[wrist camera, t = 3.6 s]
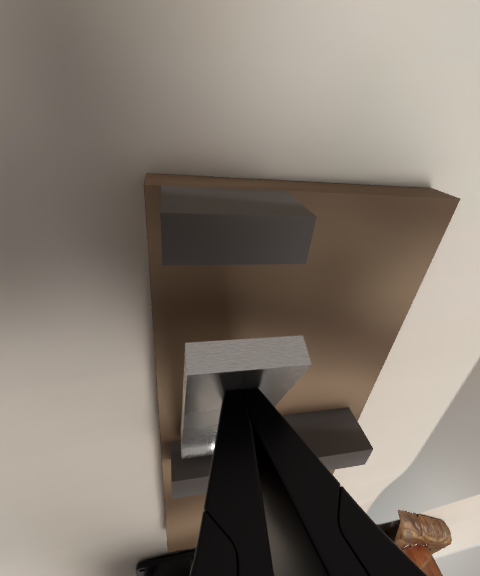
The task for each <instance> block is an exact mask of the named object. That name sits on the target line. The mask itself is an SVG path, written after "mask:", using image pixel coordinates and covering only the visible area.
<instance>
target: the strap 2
mask: <svg viewBox="0 0 480 576" xmlns="http://www.w3.org/2000/svg"><path fill="white" fill-rule="evenodd" d="M311 365H312V364H311V361H310V357H309V354H308V351H307V347H306V344H305V340H304V337H303V335H300V336H285V337H269V338H253V339H237V340H222V341H206V342H190V343H185V359H184V379H183V398H182V418H181V427H180V433H181V458H182V459H186V458H193V457H200V456H207V455H213V451H214V445H215V439H216V434H217V428H218V422H219V416H220V410H221V405H222V399H223V393H224V391H230V390H243V389H251V388H259V389H260V390H261V391H262V393H263V394H264V395H265V396H266V397H267V398H268V400H269V401H270V402H271V403H272V404H273V406H274V407H275V406H276V405H277V404H278V402H279V401H280V400H281V399H282V398H283V397H284V396H285V395H286V393H287V392H288V391H289V390H290V389H291V388H292V387H293V385H294V384H295V383H296V382H297V381H298V380H299V379H300V377H301V376H302V375H303V374H304V373H305V372H306V371H307V369H308V368H309V367H310V366H311Z"/></svg>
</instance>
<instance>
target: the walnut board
mask: <svg viewBox="0 0 480 576" xmlns="http://www.w3.org/2000/svg"><path fill="white" fill-rule="evenodd" d="M144 193H145V208H146V223H147V239H148V254H149V270H150V285H151V300H152V316H153V331H154V346H155V362H156V377H157V392H158V408H159V423H160V438H161V454H162V469H163V484H164V500H165V515H166V530H167V546H168V553H169V552H173V551H178V550H183V549H188V548H193V547H196V545H197V541H198V536H199V531H200V525H201V519H202V513H203V509H204V503H205V497H206V491H207V485H208V480H209V474H210V468H211V462H212V457H213V455H207V456H200V457H193V458H186V459H182V458H181V433H180V427H181V418H182V398H183V379H184V359H185V343H190V342H206V341H222V340H237V339H253V338H269V337H285V336H300V335H303V337H304V340H305V344H306V347H307V351H308V354H309V357H310V361H311V364H312V365H311V366H310V367H309V368H308V369H307V371H306V372H305V373H304V374H303V375H302V376H301V377H300V379H299V380H298V381H297V382H296V383H295V384H294V385H293V387H292V388H291V389H290V390H289V391H288V392H287V393H286V395H285V396H284V397H283V398H282V399H281V400H280V401H279V402H278V404H277V405H276V406H275V408H276V409H277V410H278V411H279V413H280V414H281V415H282V416H283V417H284V418H285V420H286V421H287V422H288V423H289V424H290V425H291V427H292V428H293V429H294V430H295V431H296V433H297V434H298V435H299V436H300V437H301V438H302V440H303V441H304V442H305V443H306V444H307V445H308V447H309V448H310V449H311V450H312V451H313V452H314V454H315V455H316V456H317V457H318V458H319V460H320V461H321V462H322V463H323V464H324V465H325V467H326V468H327V469H328V470H329V471H330V472H331V474H332V475H333V473H334V471H335V469H340V468H346V467H352V466H358V465H364V464H365V463H366V461H367V460H368V458H369V456H370V454H371V452H372V450H373V448H372V446H371V444H370V442H369V441H368V439H367V437H366V436H365V434H364V432H363V430H362V429H361V427H360V425H359V423H358V422H357V421H358V419H359V417H360V414H361V412H362V410H363V408H364V406H365V404H366V401H367V399H368V397H369V395H370V393H371V391H372V389H373V386H374V384H375V382H376V380H377V378H378V376H379V373H380V371H381V369H382V367H383V365H384V363H385V360H386V358H387V356H388V354H389V352H390V350H391V348H392V345H393V343H394V341H395V339H396V337H397V335H398V332H399V330H400V328H401V326H402V324H403V322H404V319H405V317H406V315H407V313H408V311H409V309H410V306H411V304H412V302H413V300H414V298H415V296H416V294H417V291H418V289H419V287H420V285H421V283H422V281H423V278H424V276H425V274H426V272H427V270H428V268H429V265H430V263H431V261H432V259H433V257H434V255H435V253H436V250H437V248H438V246H439V244H440V242H441V240H442V237H443V235H444V233H445V231H446V229H447V227H448V224H449V222H450V220H451V218H452V216H453V214H454V211H455V209H456V207H457V205H458V203H459V201H460V199H459V198H457V197H454V196H451V195H449V194H446V193H443V192H441V191H438V190H435V189H433V188H415V187H396V186H377V185H358V184H339V183H320V182H300V181H281V180H262V179H243V178H224V177H205V176H186V175H166V174H147V173H146V178H145V182H144Z"/></svg>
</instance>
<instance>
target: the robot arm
mask: <svg viewBox="0 0 480 576" xmlns="http://www.w3.org/2000/svg"><path fill="white" fill-rule="evenodd" d="M136 574H137V576H427V575H426V574H425V573H424V572H423V571H422V570H421V569H420V568H419V567H418V566H417V565H416V564H415V563H414V562H413V561H412V560H411V559H410V558H409V557H408V556H407V555H406V554H405V553H404V552H403V551H402V550H401V549H400V548H399V547H398V546H397V545H396V544H395V543H394V542H393V541H392V540H391V539H390V538H389V537H388V536H387V535H386V534H385V533H384V532H383V531H382V530H381V529H380V528H379V527H378V526H377V525H376V524H375V523H374V522H373V521H372V520H371V519H370V518H369V516H368V515H367V514H366V513H365V512H364V511H363V509H362V508H361V507H360V506H359V505H358V504H357V503H356V502H355V500H354V499H353V498H352V497H351V496H350V495H349V493H348V492H347V491H346V490H345V489H344V487H342V486H341V487H340V483H339V482H338V481H337V479H336V478H335V477H334V476H333V475H332V474H331V472H330V471H329V470H328V469H327V468H326V467H325V465H324V464H323V463H322V462H321V461H320V460H319V458H318V457H317V456H316V455H315V454H314V452H313V451H312V450H311V449H310V448H309V447H308V445H307V444H306V443H305V442H304V441H303V440H302V438H301V437H300V436H299V435H298V434H297V433H296V431H295V430H294V429H293V428H292V427H291V425H290V424H289V423H288V422H287V421H286V420H285V418H284V417H283V416H282V415H281V414H280V413H279V411H278V410H277V409H276V408H275V407H274V406H273V404H272V403H271V402H270V401H269V400H268V398H267V397H266V396H265V395H264V394H263V393H262V391H261V390H260V389H259V388H251V389H243V390H230V391H224V393H223V399H222V405H221V410H220V416H219V422H218V428H217V434H216V439H215V445H214V451H213V457H212V462H211V468H210V474H209V480H208V485H207V491H206V497H205V503H204V509H203V513H202V519H201V525H200V531H199V536H198V541H197V545H196V550H195V551H193V552H188V553H184V554H179V555H174V556H169V557H164V558H160V559H155V560H150V561H145V562H141V563H138V564H137V565H136Z"/></svg>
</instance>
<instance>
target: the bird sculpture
mask: <svg viewBox="0 0 480 576" xmlns="http://www.w3.org/2000/svg"><path fill="white" fill-rule="evenodd" d="M398 513H399V517H400V520H401V522H400V525H399V528H398V531H397V535H396V538H395V541H394V543H395V544H396V545H397V546H398V547H399V548H400V549H401V550H402V551H403V552H404V553H405V554H406V555H407V556H408V557H409V558H410V559H411V560H412V561H413V562H414V563H415V564H416V565H417V566H418V567H419V568H420V569H421V570H422V571H423V572H424V573H425V574H426V575H427V576H443V575H442V574H441V571H440V569H439V568H438V566H437V564H436V562H435V560H434V558H433V557H432V554H433V553H435V552H437V551H439V550H441V549H442V548H445V547H446V546H448V545H450V544H451V541H452V539H451V533H450V530H449V528H448V527H447V525H446V523H445V522H444V521H442V520H439V519H435V518H432V519H431V517H429V516H428V517H429V518H428V517H427V516H425V515H424V516H422V515H420V514H418V515H419V516H420V517H419V516H418V517H417V516H416V514H415V513H413V514H412V513H410V512H407V511H400V510H398ZM415 544H417V545H416V546H414V545H415ZM407 545H409V546H407ZM423 545H425V546H423ZM426 545H427V546H426ZM405 546H407V547H405ZM438 547H439V548H438Z"/></svg>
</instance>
